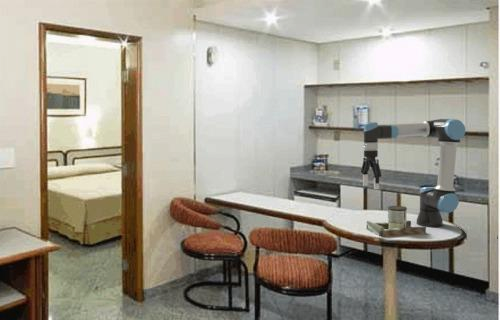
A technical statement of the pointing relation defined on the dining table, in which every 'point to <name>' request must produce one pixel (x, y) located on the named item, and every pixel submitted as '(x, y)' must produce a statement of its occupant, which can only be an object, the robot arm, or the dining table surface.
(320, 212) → the dining table surface
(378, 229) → the shallow brown tray
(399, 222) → the coffee can
